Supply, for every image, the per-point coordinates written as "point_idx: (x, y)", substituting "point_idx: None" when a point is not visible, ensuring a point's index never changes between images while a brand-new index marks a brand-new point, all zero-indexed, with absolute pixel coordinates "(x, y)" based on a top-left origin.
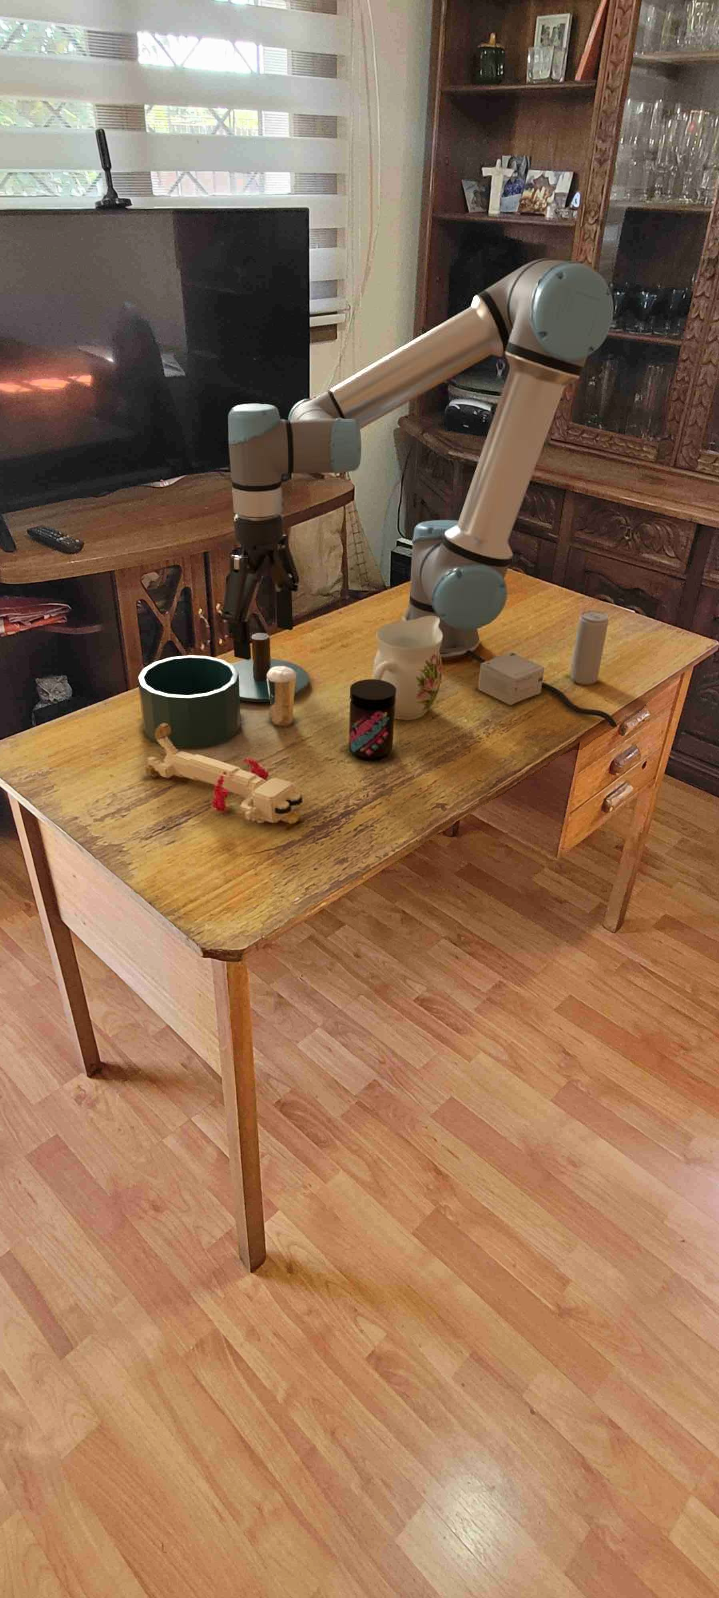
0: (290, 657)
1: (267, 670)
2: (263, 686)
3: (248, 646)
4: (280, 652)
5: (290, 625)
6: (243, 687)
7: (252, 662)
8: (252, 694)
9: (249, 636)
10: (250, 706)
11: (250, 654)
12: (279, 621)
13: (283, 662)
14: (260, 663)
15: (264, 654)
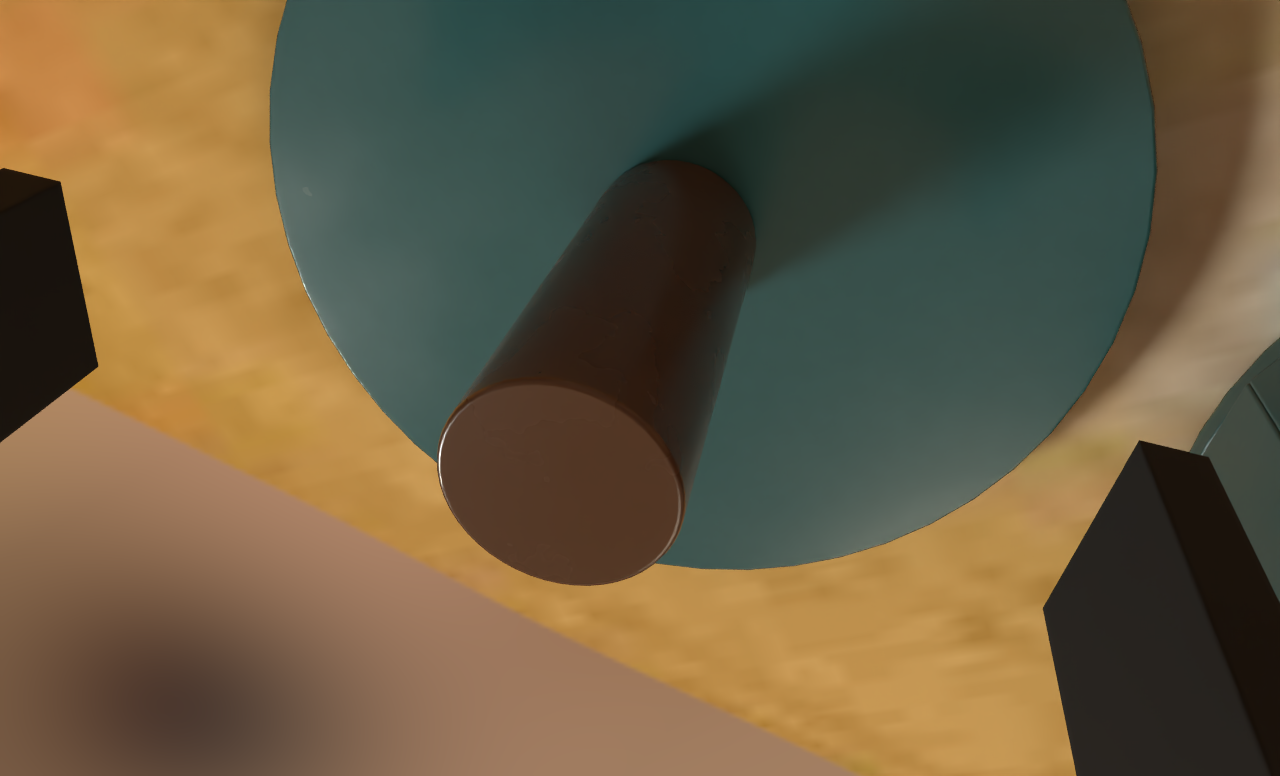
0: (124, 139)
1: (696, 210)
2: (856, 171)
3: (1263, 602)
4: (100, 242)
5: (8, 210)
6: (924, 335)
7: (434, 387)
8: (1062, 220)
9: (1272, 730)
10: (1173, 180)
11: (1167, 483)
12: (27, 380)
13: (307, 147)
14: (730, 308)
15: (689, 318)
